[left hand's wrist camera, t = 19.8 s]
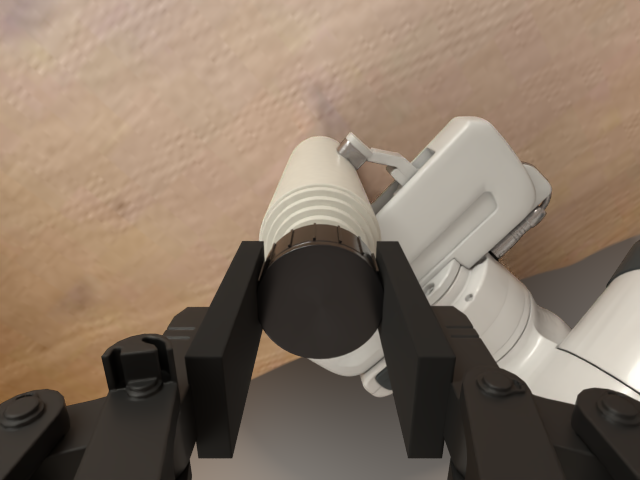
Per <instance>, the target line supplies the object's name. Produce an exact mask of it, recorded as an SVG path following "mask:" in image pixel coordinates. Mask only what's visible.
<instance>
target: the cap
mask: <svg viewBox="0 0 640 480" xmlns="http://www.w3.org/2000/svg"><path fill="white" fill-rule="evenodd" d="M379 273H380V271H379V268H378V265H377V261H376V258H375V255H374V253H371V251H370V250H369V248H368V247H367V245H366V244H365V243H364V242H363V241H362V240H361V237H360V236H358V237H357V236H356V235H355V234H353V233H351V232H350V231H348V230H346V229H343V228H341V227H340V226H339V225H338V226H334V225H328V224H316V223H314V224H312V225H307V226H303V227H300V228H297V229H295V230H293V229H291V231H290V232H289V233H287V234H286V235H284V236H283V237H282V238H281V239H280V240H278V241H277V242H276V243H273V246H272V249H271V250H270V252H269V254H268V256H267V258H266V261H265V262H264V263H263V266H262V269H261V272H260V275H259V279H258V287H257V290H256V293H257V310H258V320H259V322H260V324H261V326H262V328H263V330H264V331H265V333H266V334H267V335H268V336H269V338H270V339H271V340H272V341H273V342H275V343H276V344H277V345H278V346H280V347H281V348H283V349H284V350H286V351H288V352H290V353H292V354H295V355H297V356H301V357H305V358H311V359H330V358H336V357H340V356H343V355H346V354H348V353H351V352H353V351H354V350H356V349H358V348H360V347H361V346H362V345H364V344H365V343H366V342H367V341H368V340H369V339H370V338H371V337H372V336H373V335H374V333H375V332H376V330H377V329H378V327H379V325H380V323H381V321H382V317H383V301H384V288H383V285H382V282H381V278H380V275H379Z"/></svg>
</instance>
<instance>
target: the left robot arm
mask: <svg viewBox="0 0 640 480" xmlns="http://www.w3.org/2000/svg"><path fill="white" fill-rule="evenodd" d="M376 261H377V265H378V268H379V271H380V273H379V275H380V278H381V282H382V285H383V288H384V301H383V317H382V321H381V323H380V325H379V327H378V332H379V336H380V340H381V345H382V349H383V353H384V357H385V362H386V366H387V370H388V374H389V379H390V383H391V387H392V391H393V396H394V400H395V404H396V408H397V413H398V417H399V421H400V425H401V429H402V434H403V438H404V442H405V447H406V451H407V455H408V458H442V454H443V447H444V440H445V442H446V445H447V447H448V450H449V453H450V456H451V459H450V466H449V472H448V479H447V480H640V402H639V401H638V400H636V399H634V398H632V397H630V396H628V395H626V394H624V393H621V392H618V391H614V390H610V389H605V388H595V387H594V388H589V389H583V390H582V391H581V392H580V393H579V394H578V395H577V399H576V402H575V404H570V403H565V402H561V401H556V400H552V399H547V398H544V397H540V396H537V395H534V394H532V392H531V390H530V388H529V387H528V385H527V384H526V383H525V381H523V380H522V379H521V378H519V377H518V376H517V375H515V374H513V373H511V372H509V371H507V370H505V369H502V368H499V366H498V364H497V363H496V361H495V360H494V358H493V357H492V355H491V353H490V352H489V350H488V349H487V347H486V346H485V344H484V342H483V341H482V339H481V338H479V334H478V333H477V331H476V330H475V329H474V328H473V325H472V323H471V322H470V320H469V319H468V317H467V316H466V315H465V314H464V313H462V312H461V311H460V310H458V309H457V308H455V307H454V306H430V304H429V302H428V300H427V298H426V296H425V294H424V292H423V290H422V288H421V286H420V284H419V282H418V280H417V278H416V276H415V274H414V272H413V270H412V268H411V266H410V264H409V262H408V260H407V258H406V256H405V254H404V252H403V250H402V248H401V246H400V244H399V242H398V241H377V245H376ZM264 262H265V255H264V241H242V243H241V245H240V247H239V249H238V251H237V253H236V255H235V257H234V259H233V261H232V263H231V265H230V267H229V269H228V271H227V273H226V275H225V277H224V279H223V281H222V283H221V285H220V287H219V289H218V291H217V293H216V295H215V297H214V299H213V301H212V303H211V305H210V307H187V308H186V309H184V310H183V311H182V312H180V313H179V314H177V315H176V316H175V317H174V318H173V320H172V321H171V323H170V324H169V326H168V328H167V330H166V331H165V332H164V334H163V335H159V334H141V335H136V336H131V337H129V338H126V339H124V340H121V341H119V342H117V343H115V344H114V345H112V346H111V347H109V348H108V349H107V350H106V351H105V353H104V354H103V355H102V356H101V357H102V362H103V366H104V371H105V375H106V379H107V384H108V388H109V393H108V395H107V396H106V397H103V398H99V399H96V400H92V401H87V402H83V403H78V404H74V405H69V406H66V404H65V400H64V397H63V396H62V395H61V394H60V393H59V392H58V391H54V390H49V389H43V390H33V391H30V392H26V393H23V394H20V395H17V396H15V397H13V398H11V399H9V400H7V401H5V402H3V403H1V404H0V480H192V473H191V466H190V456H191V454H192V451H193V448H194V445H195V442H196V444H197V451H198V458H232V457H233V453H234V449H235V444H236V440H237V436H238V432H239V427H240V423H241V419H242V415H243V410H244V406H245V402H246V398H247V393H248V389H249V385H250V381H251V376H252V372H253V368H254V364H255V359H256V355H257V351H258V347H259V342H260V338H261V334H262V330H263V328H262V326H261V324H260V322H259V320H258V310H257V293H256V290H257V287H258V279H259V275H260V272H261V269H262V266H263V263H264Z"/></svg>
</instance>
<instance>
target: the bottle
mask: <svg viewBox="0 0 640 480" xmlns="http://www.w3.org/2000/svg"><path fill="white" fill-rule="evenodd" d="M339 145H340V143H339V142H338V141H336V140H335V139H332V138H330V137H326V136H315V137H311V138H308V139H306V140H304V141H302V142H301V143H300V144H298V145H297V146H296V148H295V149H294V150H293V152H292V154H291V156H290V158H289V160H288V163H287V165H286V167H285V170H284V172H283V174H282V177H281V179H280V181H279V184H278V186H277V189H276V191H275V193H274V196H273V198H272V200H271V203H270V205H269V207H268V210H267V212H266V214H265V217H264V219H263V222H262V225H261V229H260V235H259V241H264V255H265V261H266V258H267V256H268V254H269V252H270V250H271V249H272V246H273V243H276V242H277V241H278V240H280V239H281V238H282V237H283V236H284V235H286V234H287V233H289V232H290V231H291V229H293V230H295V229H297V228H300V227H303V226H307V225H312V224H314V223H316V224H328V225H334V226H338V225H339V226H340V227H341V228H343V229H346V230H348V231H350V232H351V233H353V234H355V235H356V236H357V237H358V236H360V237H361V240H362V241H363V242H364V243H365V244H366V245H367V247H368V248H369V250H370V251H371V253H374V255H375V258H376V245H377V241H381V232H380V227H379V223H378V221H377V218H376V216H375V214H374V211H373V209H372V207H371V204H370V202H369V200H368V197H367V195H366V193H365V190H364V188H363V186H362V183H361V181H360V179H359V176H358V174H357V172H356V169H355V167H354V166H352V164H351V163H350V162H349V159H345V158H344V157H343V156H341V155H340V154H339V153H338V152H337V149H336V148H337V147H338V146H339Z"/></svg>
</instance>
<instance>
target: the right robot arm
mask: <svg viewBox="0 0 640 480" xmlns="http://www.w3.org/2000/svg"><path fill="white" fill-rule="evenodd" d="M336 149H337V152H338V153H339V154H340V155H341V156H343V157H344V158H345V159H349V162H350V163H351V164H352V166H354V167H355V168H356V169H357V170H358V169H359V168H360V166H361V165H362V164H363V163H364V162H365V161H369V162H374V163H378V164H383V165H388V166H387V167H386V170H387V171H388V172H389V173H390V175H391V176H392V177H393V178H394V179H395V180H394V181H393V182H392V183H391V184H390V185H389V186H388V187H387V188H386V189H385V190H384V191H383V193H382V194H381V195H380V196H379V197H378V198H377V199H376V200H375V201H374V202H373V203H372V204H371V207H372V209H373V211H374V214H375V216H376V218H377V221H378V223H379V227H380V232H381V241H398V242H399V244H400V246H401V248H402V250H403V252H404V254H405V256H406V258H407V260H408V262H409V264H410V266H411V268H412V270H413V272H414V274H415V276H416V278H417V280H418V282H419V284H420V286H421V288H422V290H423V292H424V294H425V296H426V298H427V300H428V302H429V304H430V306H454V307H455V308H457V309H458V310H460V311H461V312H462V313H464V314H465V315H466V316H467V317H468V319H469V320H470V322H471V323H472V325H473V328H474V329H475V330H476V331H477V333H478V334H479V338H481V339H482V341H483V342H484V344H485V346H486V347H487V349H488V350H489V352H490V353H491V355H492V357H493V358H494V360H495V361H496V363H497V364H498V366H499V368H502V369H505V370H507V371H509V372H511V373H513V374H515V375H517V376H518V377H519V378H521V379H522V380H523V381H525V383H526V384H527V385H528V387H529V388H530V390H531V392H532V394H534V395H537V396H540V397H544V398H547V399H552V400H556V401H561V402H565V403H570V404H575V402H576V399H577V395H578V394H579V393H580V392H581V391H582V390H583V389H589V388H594V387H595V388H605V389H610V390H614V391H618V392H621V393H624V394H626V395H628V396H630V397H632V398H634V399H636V400H638V401H639V402H640V240H639V241H637V242H636V243H635V244H634V245H633V246H632V248H631V249H630V251H629V252H628V254H627V255H626V257H625V258H624V260H623V261H622V263H621V264H620V266H619V267H618V269H617V270H616V272H615V273H614V275H613V276H612V278H611V279H610V281H609V282H608V284H607V286H606V289H605V291H604V292H603V293H602V294H601V295H600V296H599V298H598V299H597V300H596V301H595V303H594V304H593V305H592V306H591V307H590V309H589V310H588V311H587V312H586V313H585V315H584V316H583V317H582V318H581V320H580V321H579V322H578V323H577V324H576V326H575V327H574V328H573V329H571V328H570V327H569V326H568V325H567V324H566V323H565V322H564V321H563V320H562V319H561V318H560V317H558V316H557V315H556V314H554V313H553V312H551V311H549V310H547V309H545V308H543V307H540V306H539V305H537V303H536V302H535V300H534V298H533V296H532V294H531V292H530V291H529V290H528V289H527V287H526V286H525V285H524V284H523V283H522V282H521V281H519V280H518V279H517V278H516V277H515V276H514V275H513V274H512V273H511V272H510V271H509V270H508V269H506V268H505V267H504V266H503V265H502V264H501V263H500V262H499V260H498V259H499V258H500V257H502V256H503V255H504V254H505V253H506V252H507V251H508V250H509V249H510V248H512V247H513V246H514V245H515V244H516V243H517V242H518V241H519V239H520V237H522V236H523V234H525V233H526V232H527V231H528V230H529V229H531V228H533V227H535V226H536V225H537V224H538V223H539V222H540V221H541V220H542V219H543V218H544V217H545V215H546V212H545V211H544V210H545V209H546V207H547V206H548V204H549V202H550V199H551V192H552V188H551V185H550V183H549V182H548V180H547V179H546V178H545V177H544V176H543V175H542V174H541V173H540V172H539V171H538V169H537V168H536V167H535V166H533V165H532V164H529V163H526V162H521V161H520V159H519V158H518V157H517V155H516V154H515V152H514V151H513V149H512V148H511V147H510V145H509V144H508V143H507V142H506V140H505V139H504V138H503V136H502V135H501V134H500V133H499V132H498V131H497V129H496V128H495V127H494V126H493V125H492V124H491V123H490V122H488V121H487V120H485V119H483V118H480V117H475V116H458V117H455V118H453V119H452V120H451V121H450V122H449V123H448V124H447V125H446V126H445V127H444V128H443V129H442V130H441V131H440V132H439V133H438V134H437V135H436V136H435V138H434V139H433V140H432V141H431V142H430V143H429V144H428V145H427V146H426V147H425V148H424V149H423V150H422V151H421V152H420V153H419V154H418V155H417V157H416V158H415V159H414V160H413V161H412V162H411V163H410V162H409V161H408V160H407V159H406V158H404V157H403V156H402V155H401V154H400V153H397V152H392V151H387V150H382V149H376V148H369V147H367V146H366V145H365V144H364V143H363V142H362V141H361V140H360V139H359V138H358V137H357V136H355V135H354V134H353V133H352V132H350V133H349V134H348V135H347V136H346V138H345V139H344V140H343V141H342V142H341V143H340V145H339V146H338V147H337V148H336ZM541 202H542V203H541ZM540 203H541V205H540V206H538V205H539V204H540ZM308 359H310V360H311V361H313V362H315V363H316V364H318V365H320V366H321V367H323V368H325V369H327V370H329V371H331V372H333V373H336V374H339V375H343V376H355V375H359V374H360V377H361V380H362V383H363V386H364V388H365V389H366V390H367V391H368V392H369V393H371V394H372V395H374V396H376V397H384V396H388V395H390V394H392V393H393V391H392V387H391V383H390V379H389V374H388V370H387V366H386V362H385V357H384V353H383V349H382V345H381V340H380V336H379V332H378V329H377V330H376V332H375V333H374V335H373V336H372V337H371V338H370V339H369V340H368V341H367V342H366V343H365V344H364V345H362V346H361V347H360V348H358V349H356V350H354V351H353V352H351V353H348V354H346V355H343V356H340V357H336V358H330V359H311V358H308Z"/></svg>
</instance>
